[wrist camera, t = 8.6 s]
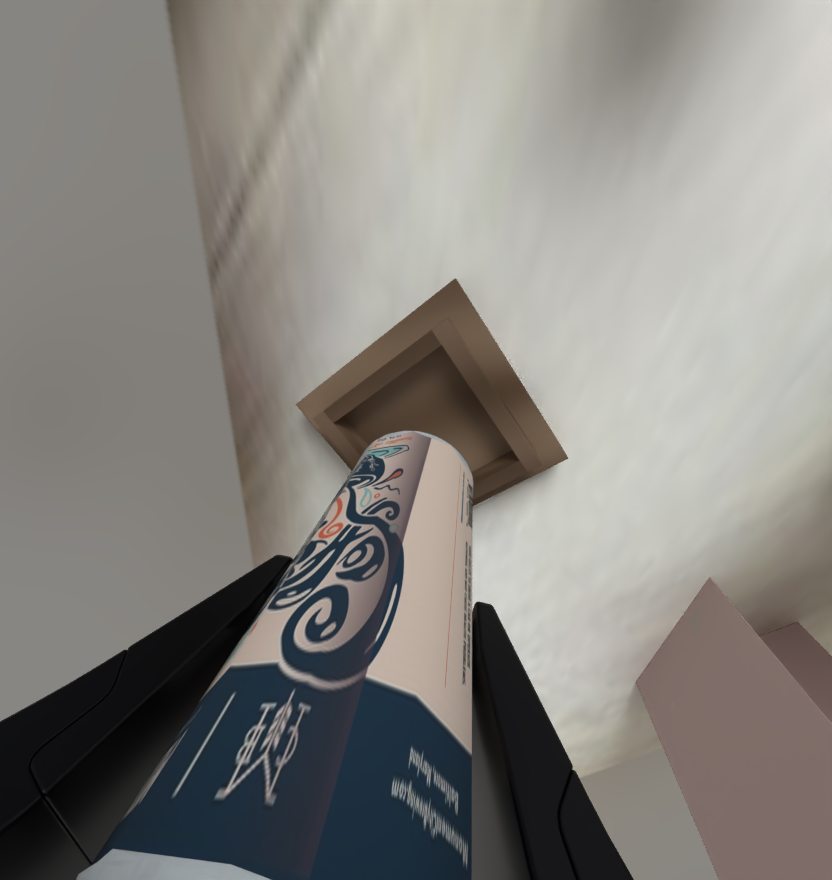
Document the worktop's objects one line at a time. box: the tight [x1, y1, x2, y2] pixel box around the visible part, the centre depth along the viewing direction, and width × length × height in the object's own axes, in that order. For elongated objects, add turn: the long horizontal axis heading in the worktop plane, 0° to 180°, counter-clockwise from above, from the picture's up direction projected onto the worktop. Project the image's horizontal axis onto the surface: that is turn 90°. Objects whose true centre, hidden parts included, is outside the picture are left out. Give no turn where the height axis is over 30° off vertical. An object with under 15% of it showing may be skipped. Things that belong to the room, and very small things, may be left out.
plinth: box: [296, 279, 568, 506], centre depth 19 cm, size 11×11×3 cm
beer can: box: [76, 431, 474, 880], centre depth 8 cm, size 5×5×12 cm
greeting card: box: [636, 578, 832, 880], centre depth 17 cm, size 11×7×15 cm, turn 136°
